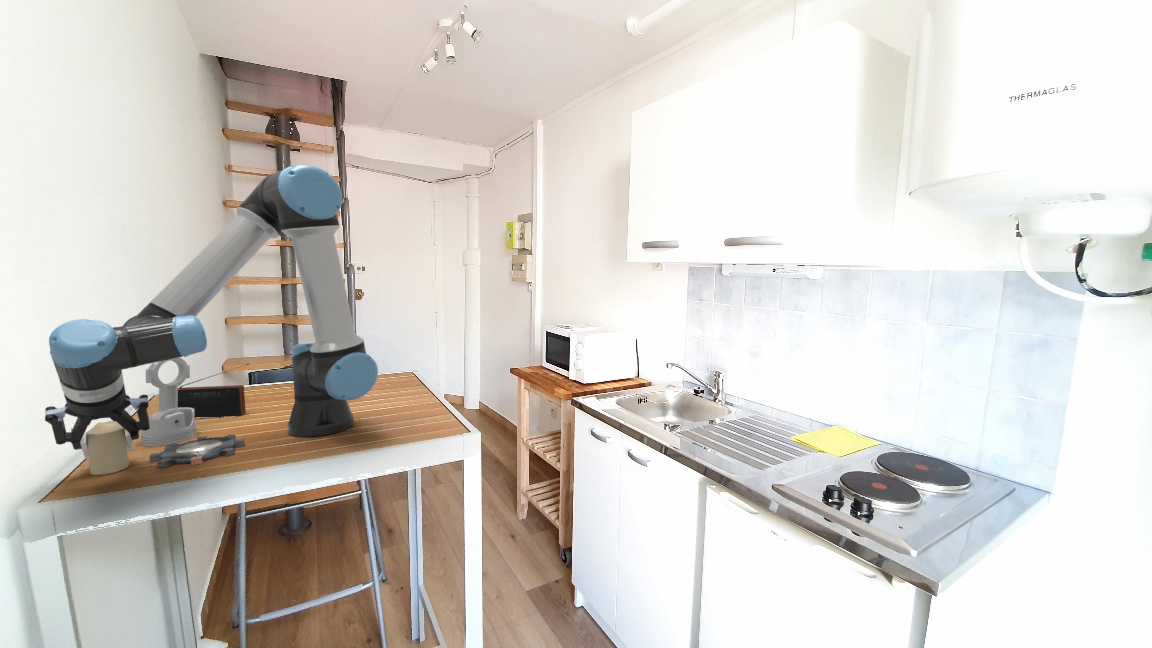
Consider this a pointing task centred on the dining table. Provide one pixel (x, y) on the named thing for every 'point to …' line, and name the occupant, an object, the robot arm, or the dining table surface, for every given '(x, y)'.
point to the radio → (213, 400)
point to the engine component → (169, 409)
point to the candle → (107, 448)
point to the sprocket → (197, 450)
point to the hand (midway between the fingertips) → (109, 449)
